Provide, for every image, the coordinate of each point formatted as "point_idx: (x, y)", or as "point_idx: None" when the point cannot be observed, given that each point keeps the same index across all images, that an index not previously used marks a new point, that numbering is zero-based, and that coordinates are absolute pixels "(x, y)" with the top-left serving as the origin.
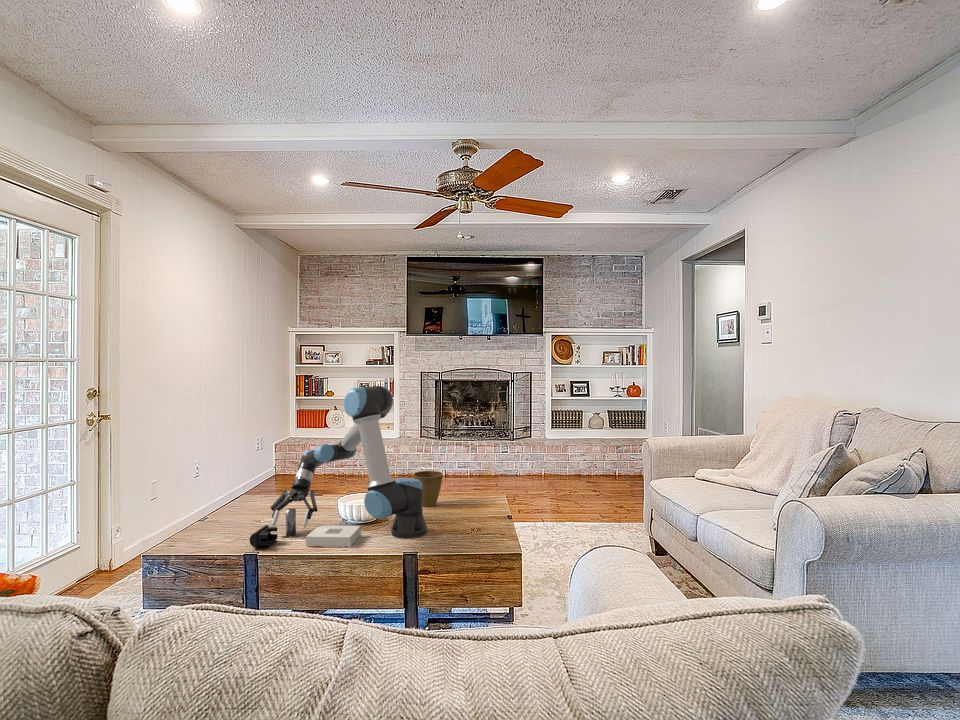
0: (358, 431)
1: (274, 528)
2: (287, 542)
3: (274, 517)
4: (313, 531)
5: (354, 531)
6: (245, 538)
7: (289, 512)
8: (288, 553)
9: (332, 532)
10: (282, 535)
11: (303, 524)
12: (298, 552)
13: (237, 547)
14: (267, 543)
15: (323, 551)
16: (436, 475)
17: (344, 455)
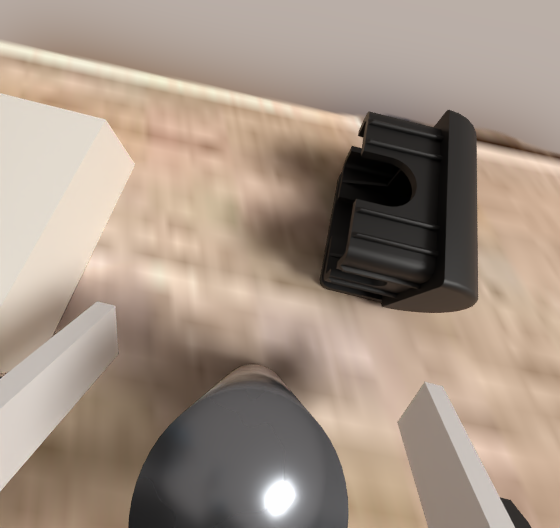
0: None
1: (356, 210)
2: (252, 254)
3: (468, 461)
4: (41, 209)
5: None
6: (546, 389)
7: (252, 384)
8: (220, 101)
9: None
10: (315, 410)
11: (105, 305)
12: (172, 101)
13: (506, 233)
14: (347, 155)
15: (46, 85)
16: None
17: None
